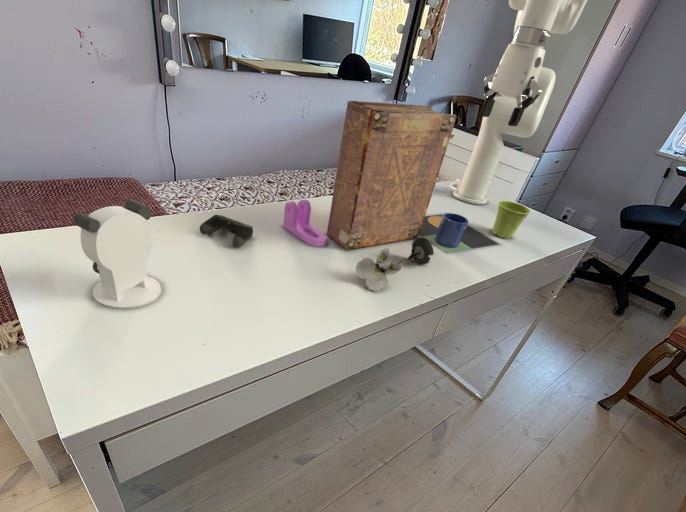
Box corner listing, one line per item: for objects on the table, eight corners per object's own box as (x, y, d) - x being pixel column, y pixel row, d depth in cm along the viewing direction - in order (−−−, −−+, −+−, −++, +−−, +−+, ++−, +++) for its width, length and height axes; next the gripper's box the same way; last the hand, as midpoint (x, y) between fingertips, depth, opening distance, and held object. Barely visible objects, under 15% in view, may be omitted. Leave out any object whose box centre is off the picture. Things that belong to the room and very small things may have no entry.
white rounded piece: (134, 267, 78) (119, 190, 68) (176, 288, 74) (168, 210, 65) (78, 291, 69) (52, 207, 60) (123, 316, 66) (104, 231, 56)
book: (396, 224, 115) (429, 105, 95) (418, 238, 109) (458, 115, 90) (326, 235, 102) (347, 100, 83) (346, 250, 97) (374, 110, 77)
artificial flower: (433, 274, 97) (453, 244, 88) (366, 306, 87) (381, 274, 78) (410, 250, 100) (427, 219, 91) (342, 278, 89) (354, 245, 81)
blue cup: (429, 238, 111) (437, 213, 106) (446, 235, 114) (455, 212, 109) (446, 249, 106) (455, 224, 102) (463, 246, 110) (473, 222, 105)
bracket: (283, 226, 103) (285, 199, 98) (300, 223, 106) (303, 197, 101) (313, 247, 96) (317, 220, 91) (330, 243, 99) (335, 216, 94)
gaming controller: (196, 233, 92) (198, 211, 90) (216, 230, 98) (219, 210, 96) (238, 249, 89) (241, 227, 86) (256, 245, 95) (259, 225, 93)
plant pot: (512, 231, 125) (525, 204, 119) (520, 243, 118) (535, 215, 112) (483, 226, 124) (495, 198, 119) (490, 238, 117) (503, 209, 112)
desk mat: (396, 219, 118) (396, 219, 118) (447, 214, 128) (447, 214, 128) (446, 252, 105) (446, 252, 105) (499, 244, 115) (499, 244, 115)
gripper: (570, 46, 90) (533, 130, 101) (511, 36, 100) (483, 113, 111) (550, 41, 86) (514, 129, 98) (491, 32, 97) (465, 112, 108)
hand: (498, 121), depth 104 cm, fingers open, 9 cm apart
